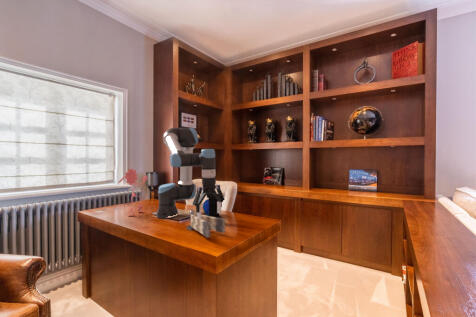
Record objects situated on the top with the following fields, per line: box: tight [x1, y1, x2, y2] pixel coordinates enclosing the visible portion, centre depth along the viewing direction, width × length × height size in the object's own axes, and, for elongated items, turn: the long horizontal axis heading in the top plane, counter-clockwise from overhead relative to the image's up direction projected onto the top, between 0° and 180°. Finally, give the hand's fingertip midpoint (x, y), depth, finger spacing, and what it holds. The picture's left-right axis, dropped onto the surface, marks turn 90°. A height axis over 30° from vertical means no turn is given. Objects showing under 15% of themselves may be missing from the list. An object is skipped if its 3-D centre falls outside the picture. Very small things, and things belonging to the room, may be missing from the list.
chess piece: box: [206, 194, 222, 218], centre depth 151 cm, size 8×8×20 cm
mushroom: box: [202, 198, 209, 216], centre depth 169 cm, size 14×14×15 cm
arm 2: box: [194, 213, 226, 234], centre depth 134 cm, size 22×2×7 cm, turn 54°
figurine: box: [117, 168, 150, 217], centre depth 178 cm, size 15×26×35 cm, turn 161°
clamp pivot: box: [186, 209, 196, 231], centre depth 141 cm, size 5×5×11 cm
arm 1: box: [190, 214, 211, 238], centre depth 130 cm, size 22×2×7 cm, turn 34°
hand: (209, 215), depth 128 cm, fingers open, 13 cm apart
